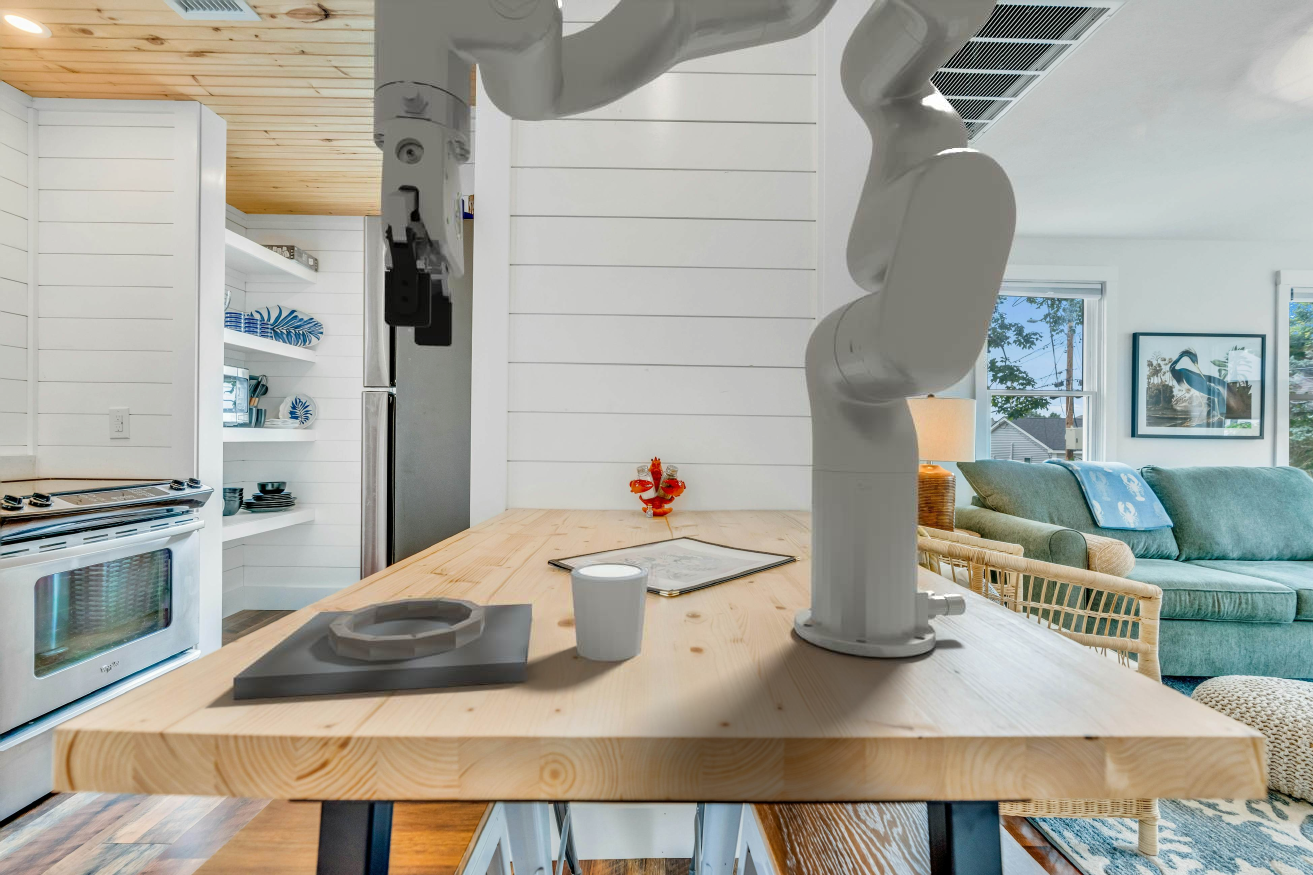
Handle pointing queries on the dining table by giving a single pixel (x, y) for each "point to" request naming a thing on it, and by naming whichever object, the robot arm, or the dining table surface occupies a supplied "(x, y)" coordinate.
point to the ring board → (395, 649)
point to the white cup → (609, 610)
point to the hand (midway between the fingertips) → (421, 336)
